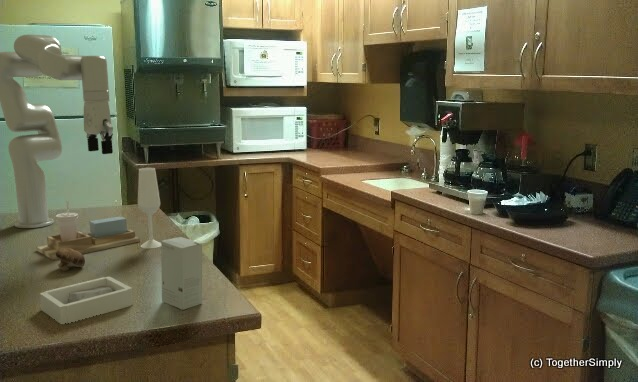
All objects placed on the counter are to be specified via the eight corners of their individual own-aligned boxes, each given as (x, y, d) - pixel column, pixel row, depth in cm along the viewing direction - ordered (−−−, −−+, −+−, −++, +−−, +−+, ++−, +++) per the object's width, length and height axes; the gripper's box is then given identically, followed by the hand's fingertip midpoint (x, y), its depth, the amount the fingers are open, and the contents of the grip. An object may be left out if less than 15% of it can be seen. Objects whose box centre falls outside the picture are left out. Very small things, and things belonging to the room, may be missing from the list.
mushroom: (50, 264, 161) (61, 242, 163) (49, 267, 168) (59, 246, 170) (79, 275, 164) (90, 253, 166) (77, 278, 171) (87, 257, 173)
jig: (36, 250, 185) (35, 237, 184) (120, 234, 203) (119, 221, 202) (53, 259, 176) (52, 245, 175) (139, 241, 194) (139, 228, 193)
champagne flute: (151, 241, 194) (146, 166, 190) (167, 244, 191) (163, 168, 186) (135, 246, 188) (130, 169, 184) (152, 249, 185) (147, 171, 181)
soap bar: (106, 310, 147) (109, 286, 148) (118, 310, 143) (120, 286, 144) (65, 308, 141) (68, 283, 142) (76, 308, 136) (79, 282, 137)
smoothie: (72, 249, 181) (68, 203, 179) (53, 248, 183) (49, 202, 180) (85, 243, 188) (81, 199, 185) (66, 242, 189) (62, 198, 186)
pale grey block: (91, 239, 192) (89, 221, 191) (121, 234, 198) (120, 216, 197) (96, 242, 189) (94, 223, 188) (127, 237, 195) (126, 218, 194)
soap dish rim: (40, 309, 139) (39, 292, 138) (109, 291, 150) (108, 275, 149) (62, 325, 130) (60, 307, 129) (133, 305, 141) (132, 288, 140)
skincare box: (161, 302, 143) (157, 240, 140) (182, 295, 147) (179, 235, 144) (183, 311, 137) (180, 247, 134) (205, 303, 142) (202, 241, 139)
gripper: (72, 96, 191) (77, 151, 194) (96, 98, 179) (101, 156, 182) (95, 95, 196) (99, 148, 200) (120, 97, 184) (124, 153, 187)
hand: (100, 152), depth 191 cm, fingers open, 9 cm apart
